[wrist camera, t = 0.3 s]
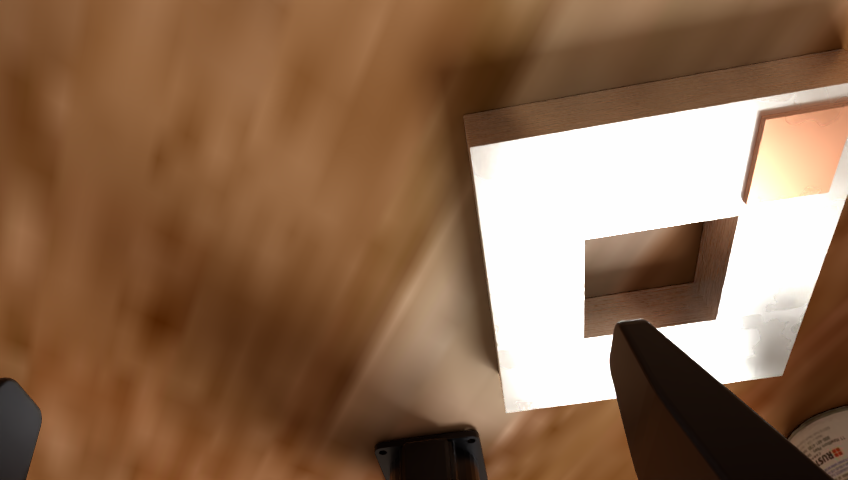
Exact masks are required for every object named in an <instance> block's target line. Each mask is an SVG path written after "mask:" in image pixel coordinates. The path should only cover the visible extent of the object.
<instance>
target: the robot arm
mask: <svg viewBox="0 0 848 480" xmlns="http://www.w3.org/2000/svg"><path fill="white" fill-rule="evenodd" d="M609 368H610V373H611V378H612V382H613V385H614V389H615V393H616V397H617V401H618V405H619V409H620V413H621V417H622V421H623V425H624V429H625V433H626V437H627V441H628V445H629V449H630V453H631V457H632V460H633V464H634V468H635V471H636V474H637V477H638V480H835V479H833V478H832V477H831V476H830V475H829V474H827V473H826V472H825V471H824V470H823V469H822V468H820V467H819V466H818V465H817V464H816V463H815V462H813V461H812V460H811V459H810V458H809V457H807V456H806V455H805V454H804V453H803V452H802V451H800V450H799V449H798V448H797V447H796V446H795V445H793V444H792V443H791V442H790V441H789V440H787V439H786V438H785V437H784V436H783V435H782V434H780V433H779V432H778V431H777V430H776V429H775V428H773V427H772V426H771V425H770V424H769V423H767V422H766V421H765V420H764V419H763V418H762V417H760V416H759V415H758V414H757V413H756V412H755V411H753V410H752V409H751V408H750V407H749V406H747V405H746V404H745V403H744V402H743V401H742V400H740V399H739V398H738V397H737V396H736V395H735V394H733V393H732V392H731V391H730V390H729V389H727V388H726V387H725V386H724V385H723V384H722V383H720V382H719V381H718V380H717V379H716V378H714V377H713V376H712V375H711V374H710V373H709V372H707V371H706V370H705V369H704V368H703V367H702V366H700V365H699V364H698V363H697V362H696V361H694V360H693V359H692V358H691V357H690V356H689V355H687V354H686V353H685V352H684V351H683V350H682V349H680V348H679V347H678V346H677V345H676V344H674V343H673V342H672V341H671V340H670V339H669V338H667V337H666V336H665V335H664V334H663V333H662V332H660V331H659V330H658V329H657V328H656V327H654V326H653V325H652V324H651V323H650V322H648V321H646V320H644V319H634V320H623V321H619V322H617V323H616V325H615V327H614V331H613V337H612V343H611V349H610V355H609ZM41 423H42V416H41V411H40V409H39V407H38V406H37V405H36V404H35V403H34V401H33V400H32V399H31V398H30V397H29V395H28V394H27V393H26V392H25V391H24V390H23V388H22V387H21V386H20V385H19V384H18V383H17V382H16V381H15V380H14V379H11V378H0V480H26V477H27V474H28V470H29V467H30V463H31V459H32V456H33V452H34V449H35V445H36V442H37V438H38V435H39V431H40V427H41ZM375 455H376V457H377V460H378V462H379V464H380V467H381V469H382V472H383V474H384V476H385V479H386V480H488V478H487V473H486V468H485V463H484V458H483V453H482V448H481V443H480V438H479V434H478V432H476V431H473V430H470V431H462V432H455V433H447V434H440V435H433V436H425V437H418V438H410V439H403V440H395V441H388V442H381V443H378V444H376V446H375Z"/></svg>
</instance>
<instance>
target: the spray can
mask: <svg viewBox="0 0 848 480" xmlns="http://www.w3.org/2000/svg"><path fill="white" fill-rule="evenodd" d="M788 440H789V441H790V442H791V443H792V444H793V445H795V446H796V447H797V448H798V449H799V450H800V451H802V452H803V453H804V454H805V455H806V456H807V457H809V458H810V459H811V460H812V461H813V462H815V463H816V464H817V465H818V466H819V467H820V468H822V469H823V470H824V471H825V472H826V473H827V474H829V475H830V476H831V477H832V478H833V479H835V480H848V406H843V407H840V408H837V409H833V410H829V411H826V412H824V413H821V414H819V415H817V416H814V417H812V418H810V419H808V420H807V421H805V422H804V423H803V424H802V425H801V426H800V427H799V428H797V429H796V430H795V431H794V432H793V433H792V434H791V436H790V437H789V438H788Z"/></svg>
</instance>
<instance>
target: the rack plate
mask: <svg viewBox="0 0 848 480" xmlns="http://www.w3.org/2000/svg"><path fill="white" fill-rule="evenodd" d="M463 119H464V126H465V133H466V140H467V147H468V155H469V162H470V169H471V176H472V183H473V190H474V198H475V205H476V212H477V219H478V226H479V233H480V240H481V248H482V255H483V262H484V269H485V276H486V283H487V290H488V298H489V305H490V312H491V319H492V326H493V333H494V341H495V348H496V355H497V362H498V369H499V376H500V381H501V387H502V393H503V398H504V404H505V409H506V413H510V412H518V411H525V410H532V409H540V408H547V407H554V406H562V405H569V404H576V403H584V402H591V401H599V400H606V399H613V398H617V397H616V393H615V389H614V385H613V382H612V378H611V373H610V368H609V355H610V349H611V343H612V337H613V331H614V327H615V325H616V323H617V322H619V321H623V320H634V319H644V320H646V321H648V322H650V323H651V324H652V325H653V326H654V327H656V328H657V329H658V330H659V331H660V332H662V333H663V334H664V335H665V336H666V337H667V338H669V339H670V340H671V341H672V342H673V343H674V344H676V345H677V346H678V347H679V348H680V349H682V350H683V351H684V352H685V353H686V354H687V355H689V356H690V357H691V358H692V359H693V360H694V361H696V362H697V363H698V364H699V365H700V366H702V367H703V368H704V369H705V370H706V371H707V372H709V373H710V374H711V375H712V376H713V377H714V378H716V379H717V380H718V381H719V382H720V383H722V384H724V383H731V382H739V381H746V380H753V379H761V378H768V377H775V376H782V375H783V372H784V369H785V367H786V364H787V361H788V358H789V356H790V353H791V350H792V347H793V344H794V342H795V339H796V336H797V333H798V331H799V328H800V325H801V322H802V320H803V317H804V314H805V311H806V308H807V306H808V303H809V300H810V297H811V295H812V292H813V289H814V286H815V283H816V281H817V278H818V275H819V272H820V270H821V267H822V264H823V261H824V258H825V256H826V253H827V250H828V247H829V245H830V242H831V239H832V236H833V233H834V231H835V228H836V225H837V222H838V220H839V217H840V214H841V211H842V209H843V206H844V203H845V200H846V197H847V195H848V51H847V50H845V49H838V50H832V51H826V52H821V53H815V54H809V55H804V56H798V57H792V58H787V59H781V60H775V61H769V62H764V63H758V64H752V65H747V66H741V67H735V68H730V69H724V70H718V71H712V72H707V73H701V74H695V75H690V76H684V77H678V78H673V79H667V80H661V81H655V82H650V83H644V84H638V85H633V86H627V87H621V88H616V89H610V90H604V91H598V92H593V93H587V94H581V95H576V96H570V97H564V98H559V99H553V100H547V101H541V102H536V103H530V104H524V105H519V106H513V107H507V108H502V109H496V110H490V111H484V112H479V113H473V114H467V115H463ZM701 221H704V225H703V231H702V237H701V242H700V248H699V254H698V260H697V265H696V271H695V277H694V283H687V284H680V285H674V286H667V287H660V288H654V289H647V290H640V291H633V292H627V293H620V294H613V295H607V296H600V297H593V298H587V299H584V240H586V239H592V238H599V237H605V236H611V235H618V234H624V233H631V232H637V231H643V230H650V229H656V228H663V227H669V226H675V225H682V224H688V223H694V222H701Z"/></svg>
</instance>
